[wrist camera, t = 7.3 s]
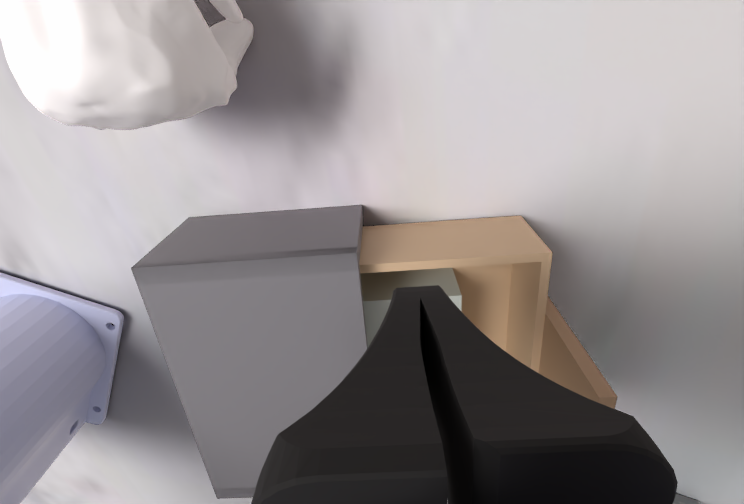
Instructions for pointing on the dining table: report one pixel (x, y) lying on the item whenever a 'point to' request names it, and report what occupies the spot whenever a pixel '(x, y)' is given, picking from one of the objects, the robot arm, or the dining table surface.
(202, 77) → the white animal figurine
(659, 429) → the dining table surface
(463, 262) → the mailer tray
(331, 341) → the mailer sleeve
